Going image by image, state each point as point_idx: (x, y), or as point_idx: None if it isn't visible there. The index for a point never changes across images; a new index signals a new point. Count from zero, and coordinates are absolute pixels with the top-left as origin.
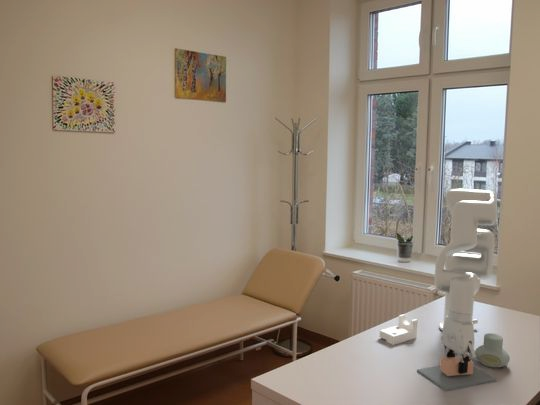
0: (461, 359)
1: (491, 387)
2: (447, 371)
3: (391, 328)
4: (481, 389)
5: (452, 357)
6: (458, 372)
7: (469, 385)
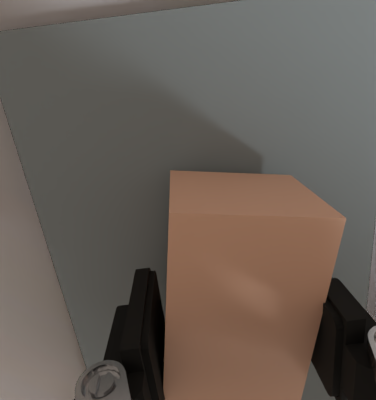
0: (111, 395)
1: (37, 368)
2: (173, 182)
3: None
4: (14, 307)
5: (307, 343)
6: (147, 269)
7: (58, 265)
